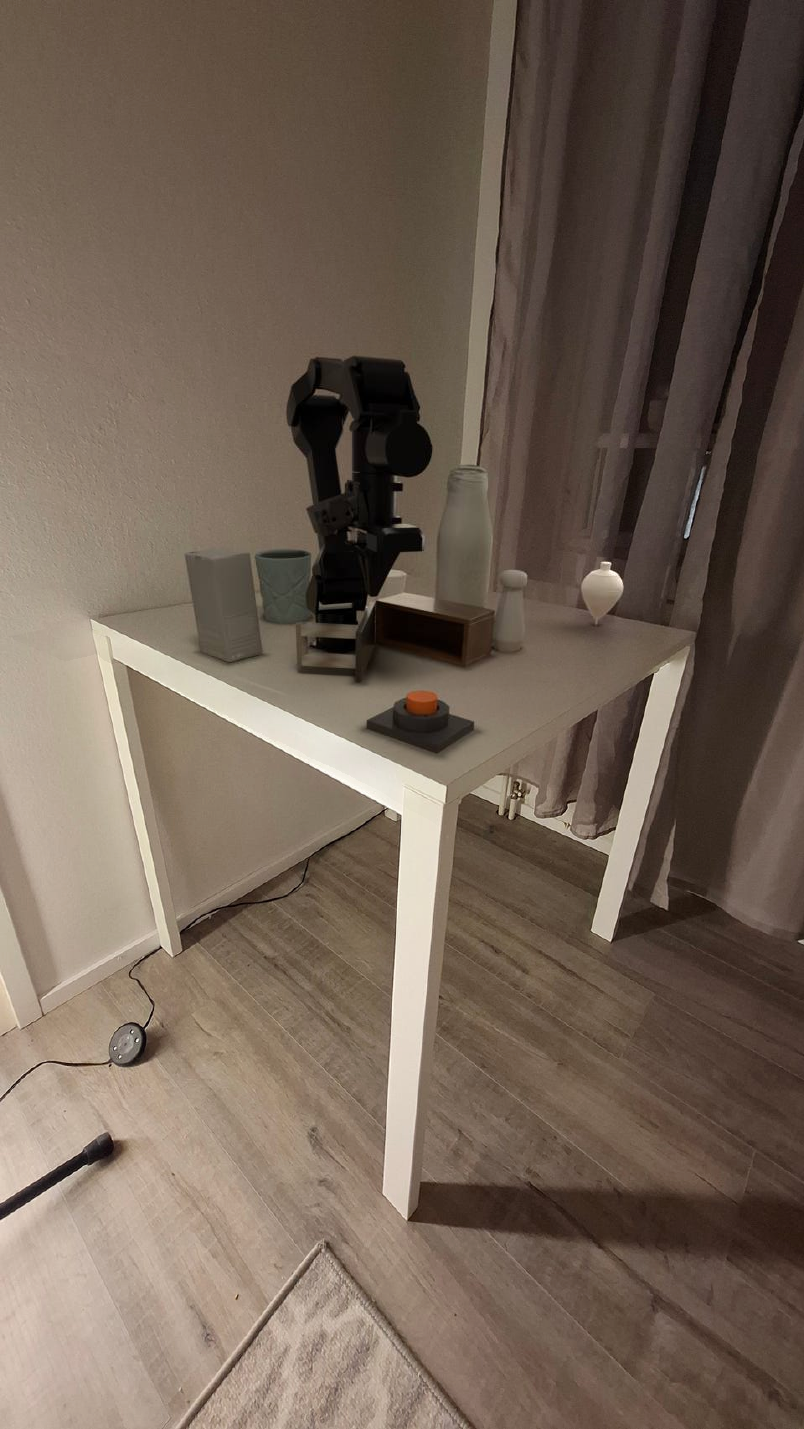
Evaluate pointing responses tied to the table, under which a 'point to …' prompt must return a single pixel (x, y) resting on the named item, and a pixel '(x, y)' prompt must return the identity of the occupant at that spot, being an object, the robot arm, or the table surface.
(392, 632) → the cabinet
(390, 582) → the cup
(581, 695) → the table surface
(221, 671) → the table surface
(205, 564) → the cosmetic box
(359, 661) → the door
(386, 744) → the table surface
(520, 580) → the salt shaker
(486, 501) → the glass bottle
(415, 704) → the release button
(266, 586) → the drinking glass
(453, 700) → the table surface
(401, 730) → the button block
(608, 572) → the spinning top
